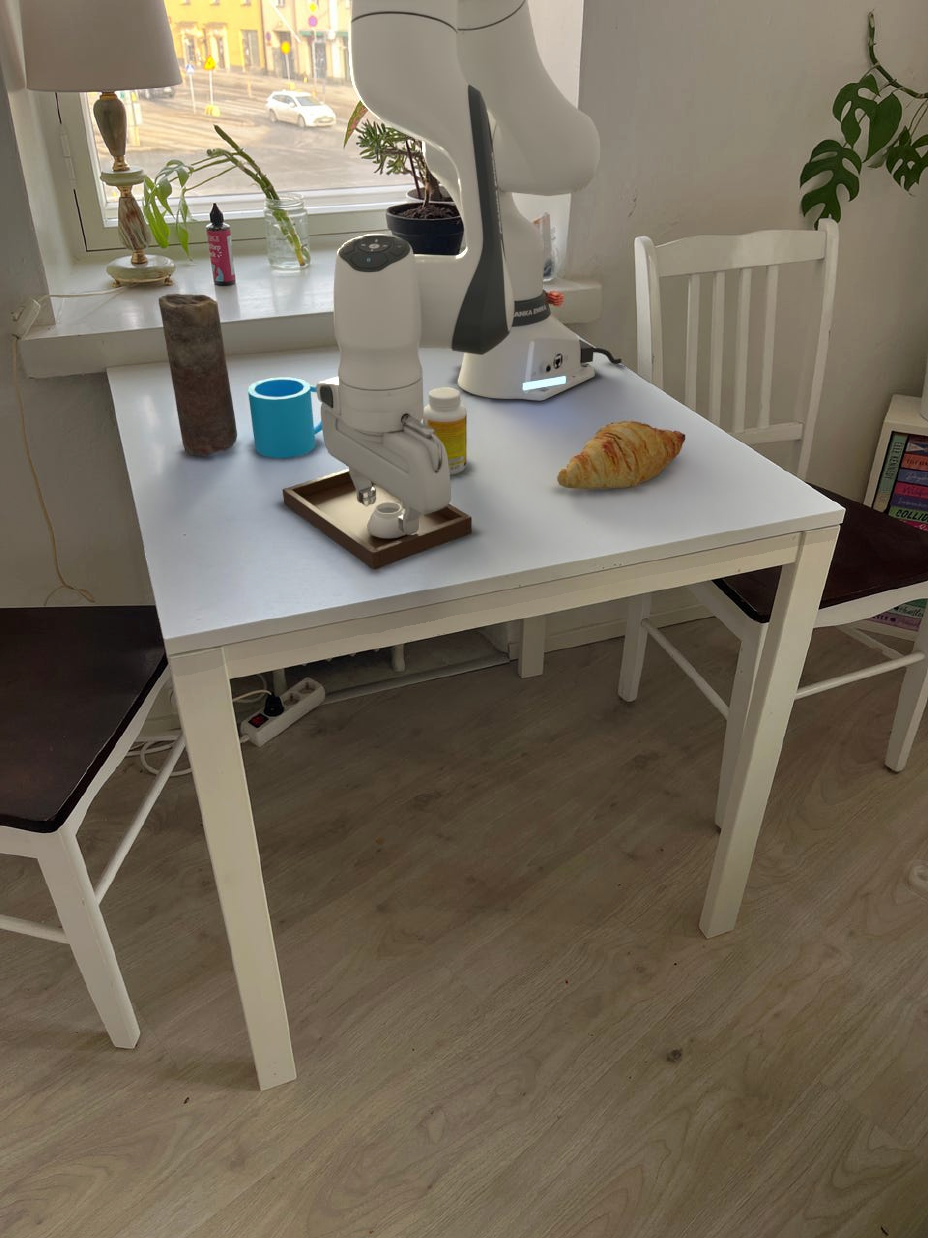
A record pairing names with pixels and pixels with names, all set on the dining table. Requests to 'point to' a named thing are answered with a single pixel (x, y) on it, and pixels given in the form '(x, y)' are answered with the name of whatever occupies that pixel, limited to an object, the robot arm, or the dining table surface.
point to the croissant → (621, 456)
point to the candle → (199, 372)
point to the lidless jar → (386, 520)
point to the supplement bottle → (448, 425)
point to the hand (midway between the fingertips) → (387, 516)
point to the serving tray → (346, 520)
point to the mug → (282, 417)
